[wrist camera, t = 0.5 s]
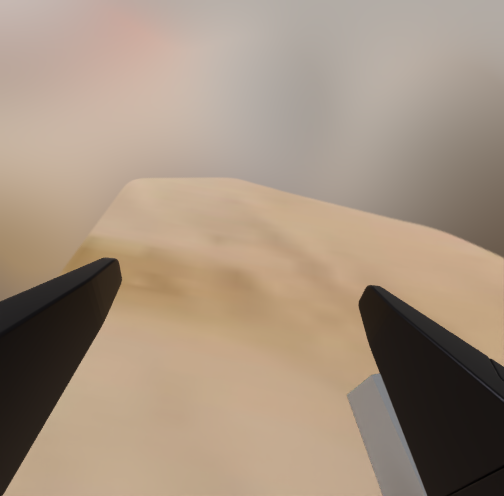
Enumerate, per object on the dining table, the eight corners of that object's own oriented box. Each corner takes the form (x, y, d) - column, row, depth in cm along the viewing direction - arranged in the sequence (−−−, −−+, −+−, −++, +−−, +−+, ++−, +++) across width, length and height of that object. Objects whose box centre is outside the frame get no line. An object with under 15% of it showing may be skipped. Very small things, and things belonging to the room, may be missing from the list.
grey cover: (483, 491, 15) (580, 508, 11) (388, 511, 15) (443, 538, 10) (421, 381, 20) (469, 357, 15) (346, 394, 20) (371, 374, 15)
